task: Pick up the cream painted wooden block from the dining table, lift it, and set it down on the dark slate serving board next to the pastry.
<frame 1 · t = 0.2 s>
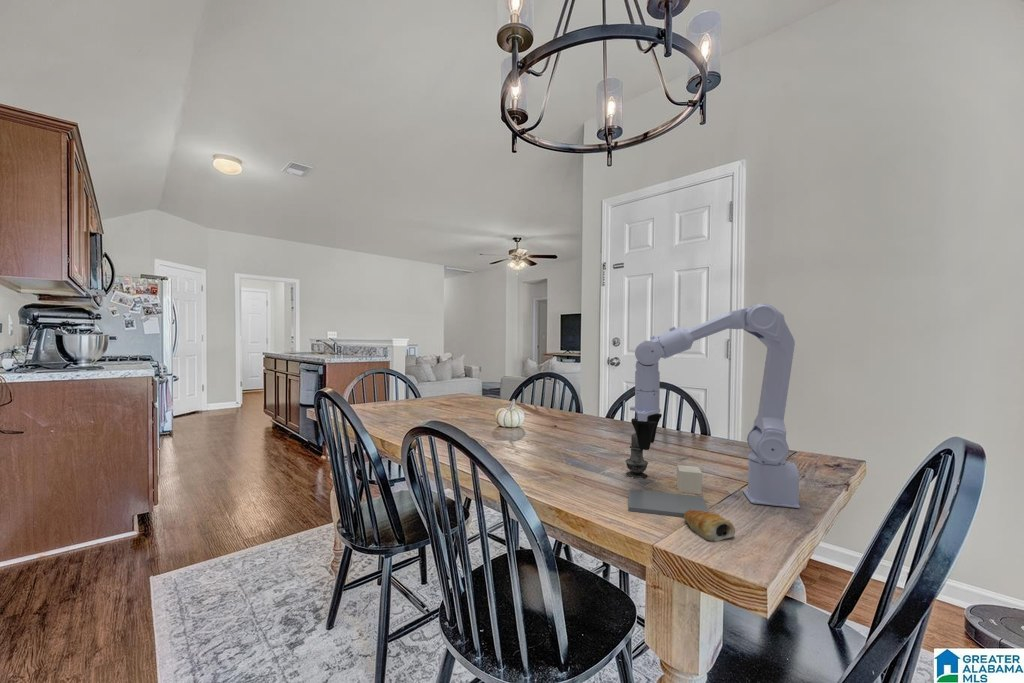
hand: (646, 445, 104), 10 cm above the table, tool pointing down, fingers open, 7 cm apart
board: (666, 505, 92), on the table
pastry: (707, 533, 80), on the table
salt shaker: (636, 476, 112), on the table
block: (688, 489, 102), on the table
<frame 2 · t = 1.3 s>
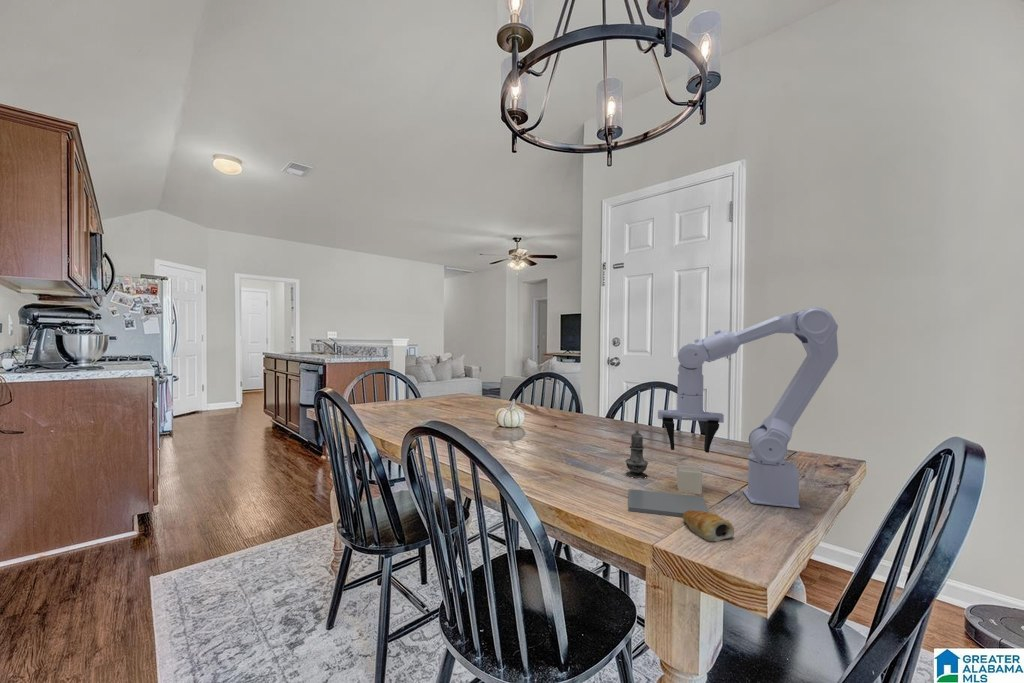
hand: (689, 450, 102), 9 cm above the table, tool pointing down, fingers open, 7 cm apart
nothing on the table moved.
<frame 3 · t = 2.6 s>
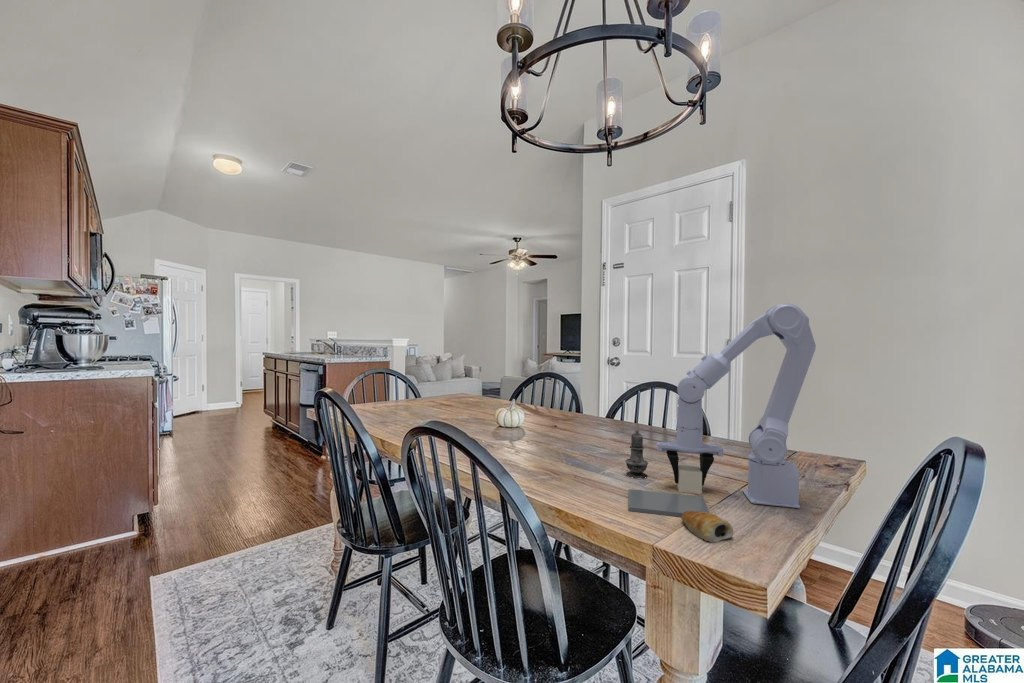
hand: (688, 483, 102), 1 cm above the table, tool pointing down, fingers closed on block, 5 cm apart
block: (688, 489, 102), on the table, touching gripper
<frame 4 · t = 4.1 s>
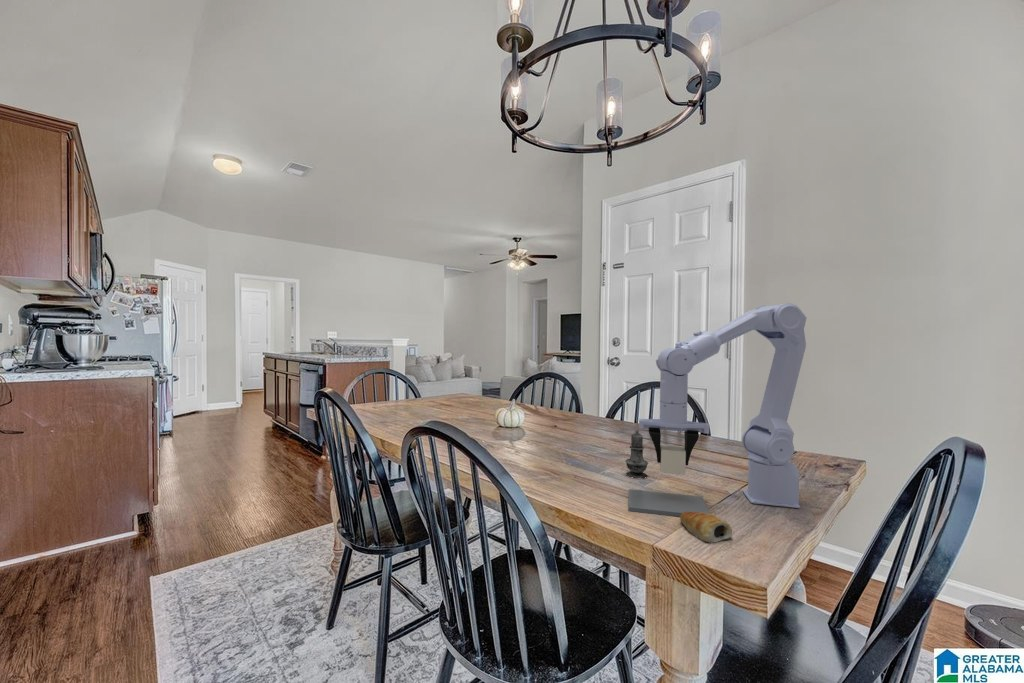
hand: (672, 462, 95), 9 cm above the table, tool pointing down, fingers closed on block, 5 cm apart
block: (672, 470, 95), point 7 cm above the table, touching gripper
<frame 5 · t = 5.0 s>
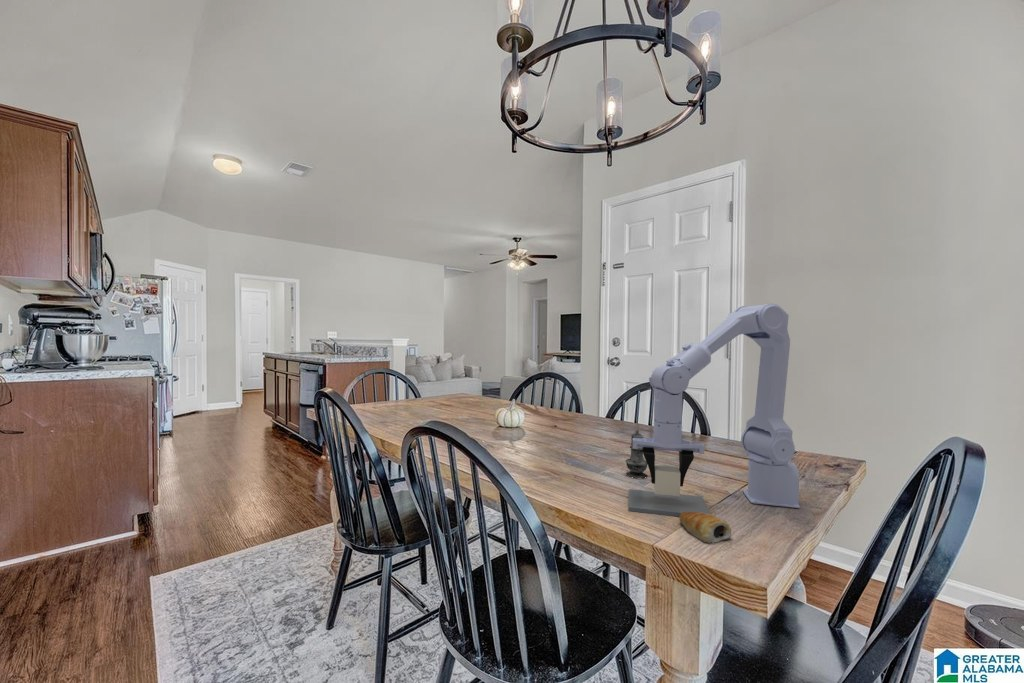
hand: (666, 483, 92), 5 cm above the table, tool pointing down, fingers closed on block, 5 cm apart
block: (666, 491, 93), point 3 cm above the table, touching gripper
when the fingers open (3 cm above the table, at t = 5.8 s): block stays where it is, resting on board.
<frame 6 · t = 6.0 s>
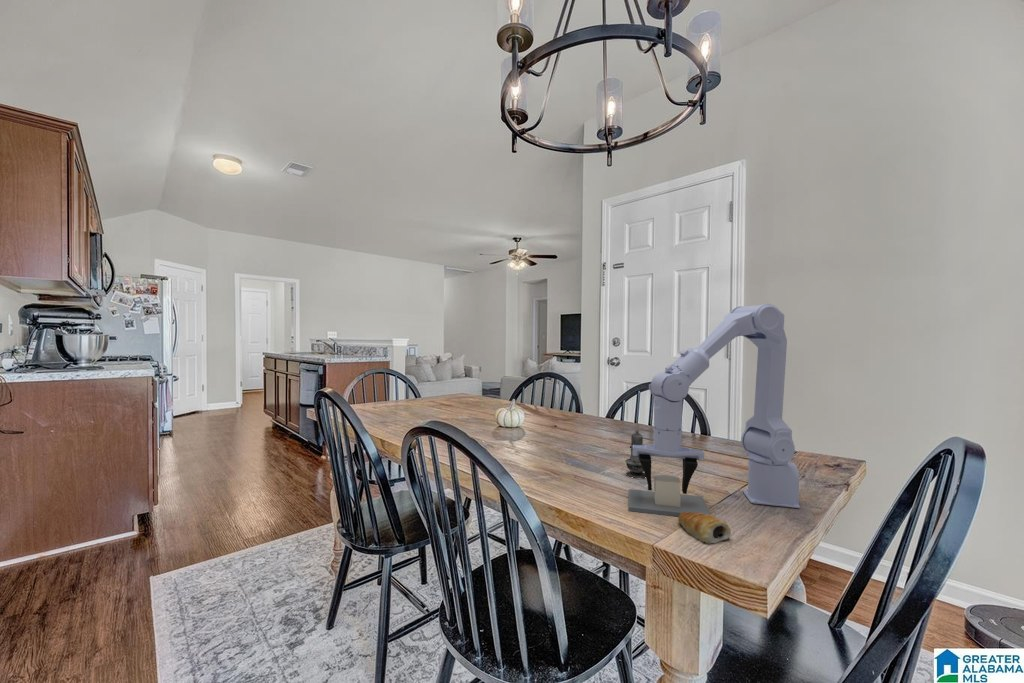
hand: (666, 490, 92), 3 cm above the table, tool pointing down, fingers open, 6 cm apart
block: (666, 501, 93), point 1 cm above the table, touching board
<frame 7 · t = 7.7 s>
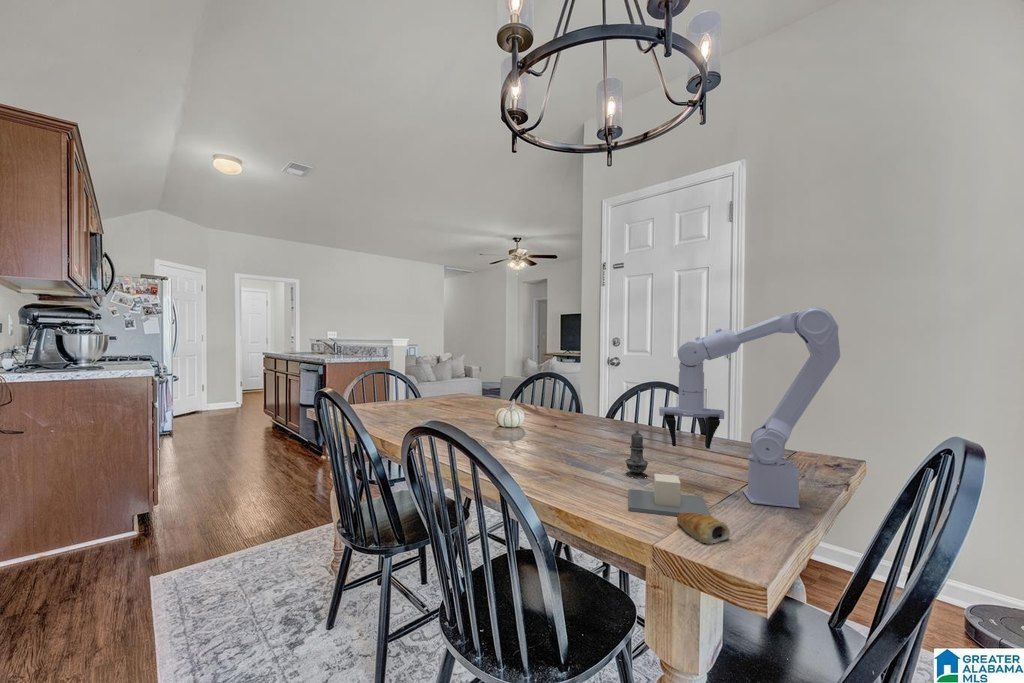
hand: (690, 446, 104), 10 cm above the table, tool pointing down, fingers open, 7 cm apart
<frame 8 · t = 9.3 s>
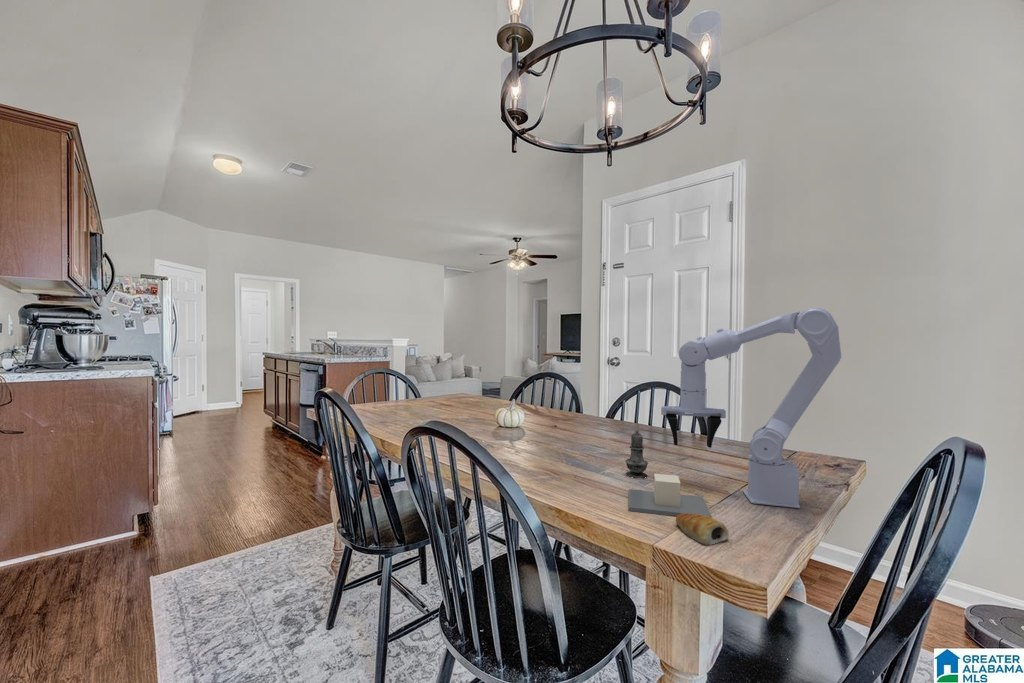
hand: (692, 445, 105), 10 cm above the table, tool pointing down, fingers open, 7 cm apart
at the end: block inside the target area on the board (0.3 cm from its centre), point 0.8 cm above the board's base; block tilted 0°; the gripper is holding nothing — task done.
